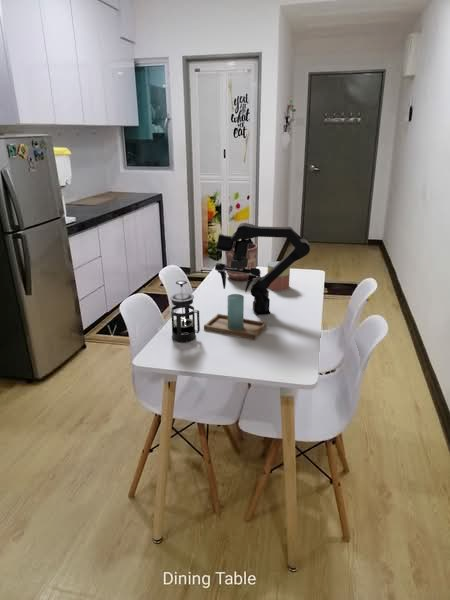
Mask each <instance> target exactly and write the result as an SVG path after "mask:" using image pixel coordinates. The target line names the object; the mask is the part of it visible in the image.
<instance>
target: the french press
mask: <svg viewBox="0 0 450 600" xmlns="http://www.w3.org/2000/svg"><path fill="white" fill-rule="evenodd" d="M187 283H188V281H187V280H177V281H176V282H175V284H176V285H179V286H180V290H181V291H180V292H178V293H177V292H176V293H174V294H172V295H170V296H169V299H170V300H171V304H172V305H173V306H172V307H171V308H170V314H171V339H172V340H173V341H174V342H176V343H183V344H184V343H190V342H192V341H195V339H196V338H197V334H199V333H200V331H201V328H200V327H201V326H200V310H198V309H195V306H193V305H192V304H194V299H195V296H194V294H192V293H190V292H189V293H188V292H183V286H184V285H187ZM177 309H181V313H179V312H174V311H175V310H177ZM190 310H192V311H190ZM195 313H196V316H195ZM190 316H192V317H191V318H190ZM175 317H176V318H175ZM195 318H197V319H195ZM196 321H197V322H196ZM195 322H196V323H197V327H196V324H195ZM196 328H197V329H196ZM184 333H185V334H184Z"/></svg>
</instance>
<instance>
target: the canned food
mask: <svg viewBox="0 0 450 600" xmlns="http://www.w3.org/2000/svg"><path fill="white" fill-rule="evenodd" d="M280 261H281V260H280ZM280 261H276V260H275V261H271V262H268V263H267V273H268V272H269V271H270V270H271V269H273V268H274V267H275V266H276V265H277V264H278V263H279V262H280ZM290 274H291V265H290V266H289V267H288V268H287V269H286V270H285V271H284V272H283V273H282V274H281V275H279V276H278V277H277V278H276V279H275V280H274V281H273V282H272V283H271V284H270V286H269V287H268V289H267V290H270V291H274V292H282V291H287V290H289V289H290Z"/></svg>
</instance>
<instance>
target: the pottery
mask: <svg viewBox="0 0 450 600" xmlns="http://www.w3.org/2000/svg"><path fill="white" fill-rule="evenodd" d="M234 248H235V242H234V245H233V250H231V251H230V252H226V251H224V253H225V265H226V266H228V267H230V265H231V259H232V258H233V255H234ZM257 255H258V245H257V243H254V242H253V245H249V246H248V253H247V259H248V266H247V267H245V269H251V268H257ZM233 269H237V268H233ZM240 270H243V269H240ZM225 272H226V275H227V276H228V277H229V278H230V279H231V280H234V281H240V282H242V281H248V277H249V275H250V274H248V273H241V272H233V271H225Z"/></svg>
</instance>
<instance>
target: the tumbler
mask: <svg viewBox="0 0 450 600" xmlns="http://www.w3.org/2000/svg"><path fill="white" fill-rule="evenodd" d="M244 300H245V296H244V295H243V294H240V293H232V294H229V295H227V315H228V325H227V327H228V328H229V329H231V330H241V329H243V327H244V325H243V318H244V308H245V307H244V306H245V305H244V303H245V301H244ZM244 319H245V318H244Z"/></svg>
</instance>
